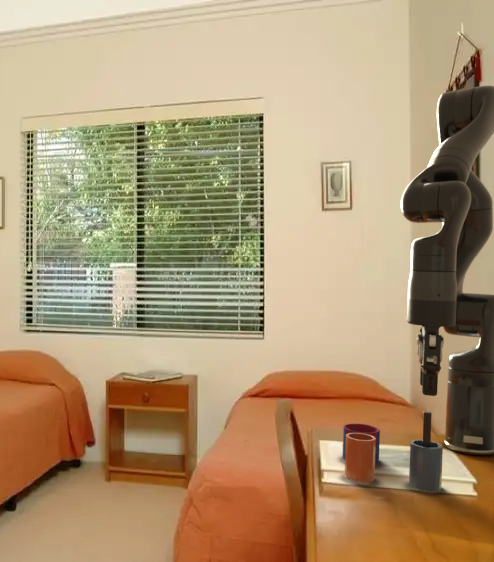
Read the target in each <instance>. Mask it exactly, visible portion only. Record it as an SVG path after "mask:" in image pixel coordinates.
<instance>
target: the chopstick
mask: <svg viewBox="0 0 494 562" xmlns="http://www.w3.org/2000/svg"><path fill="white" fill-rule="evenodd" d="M422 415H423V416H422V418H423V419H422V438H421V440H422V447H429V448H430V443H431V441H432V440H431V439H432V415H433V413H432V411H427V410H426V411H425V410H424V411H423V414H422Z"/></svg>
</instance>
